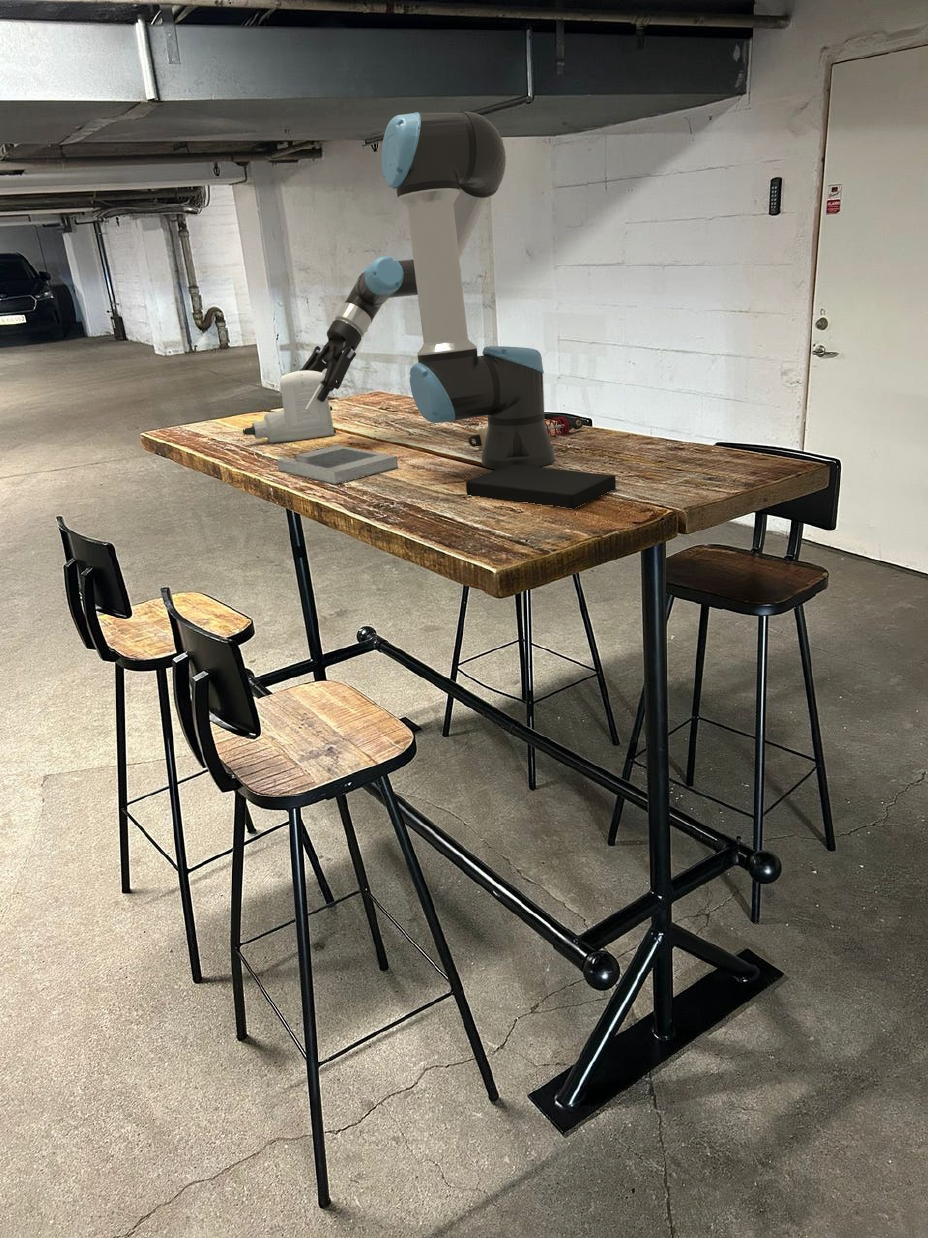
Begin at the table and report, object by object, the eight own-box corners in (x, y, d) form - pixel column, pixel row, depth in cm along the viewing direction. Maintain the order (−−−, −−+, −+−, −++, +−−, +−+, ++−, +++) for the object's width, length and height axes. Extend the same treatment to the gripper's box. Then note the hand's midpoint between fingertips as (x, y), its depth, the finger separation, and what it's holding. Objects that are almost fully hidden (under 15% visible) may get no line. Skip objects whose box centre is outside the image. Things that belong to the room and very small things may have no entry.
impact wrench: (230, 424, 240) (242, 414, 216) (312, 412, 247) (332, 401, 224) (236, 454, 241) (249, 447, 218) (317, 441, 249) (338, 433, 225)
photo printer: (331, 422, 206) (323, 367, 201) (331, 425, 202) (323, 369, 197) (287, 427, 205) (278, 372, 200) (286, 430, 201) (277, 374, 196)
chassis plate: (398, 467, 188) (396, 456, 187) (335, 484, 179) (334, 472, 178) (338, 455, 204) (337, 445, 203) (278, 470, 194) (276, 459, 193)
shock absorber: (574, 415, 211) (462, 433, 199) (584, 410, 206) (470, 428, 194) (578, 435, 211) (467, 454, 199) (589, 430, 206) (475, 449, 194)
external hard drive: (574, 512, 150) (573, 494, 149) (466, 497, 164) (465, 481, 163) (615, 491, 160) (615, 474, 159) (511, 479, 174) (510, 463, 173)
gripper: (386, 339, 200) (337, 424, 196) (333, 339, 215) (287, 418, 211) (364, 317, 195) (313, 403, 191) (312, 318, 209) (264, 398, 206)
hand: (299, 411), depth 201 cm, fingers closed on photo printer, 8 cm apart
